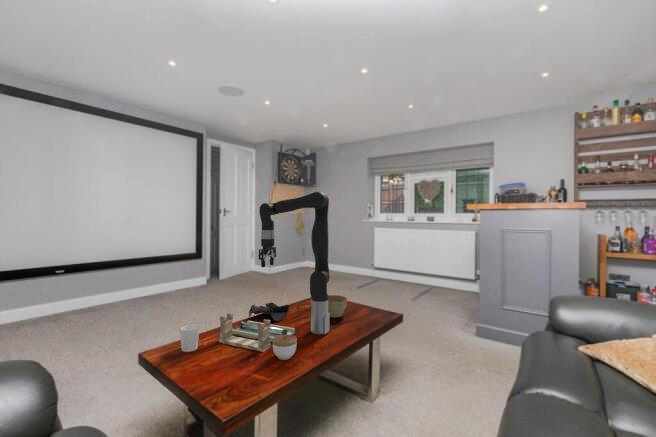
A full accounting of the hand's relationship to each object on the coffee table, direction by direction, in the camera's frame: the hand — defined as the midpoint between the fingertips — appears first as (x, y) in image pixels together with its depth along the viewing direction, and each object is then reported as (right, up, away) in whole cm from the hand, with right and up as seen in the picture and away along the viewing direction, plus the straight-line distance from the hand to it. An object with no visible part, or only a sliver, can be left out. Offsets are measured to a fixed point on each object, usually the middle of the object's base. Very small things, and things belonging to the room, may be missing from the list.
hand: (267, 266), depth 171 cm
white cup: (-29, -33, -33) cm, 55 cm away
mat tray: (0, -33, -14) cm, 36 cm away
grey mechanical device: (-1, -34, +10) cm, 35 cm away
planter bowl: (+39, -34, +15) cm, 53 cm away
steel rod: (0, -31, -14) cm, 34 cm away
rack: (-5, -33, -28) cm, 44 cm away
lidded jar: (+16, -34, -40) cm, 54 cm away
